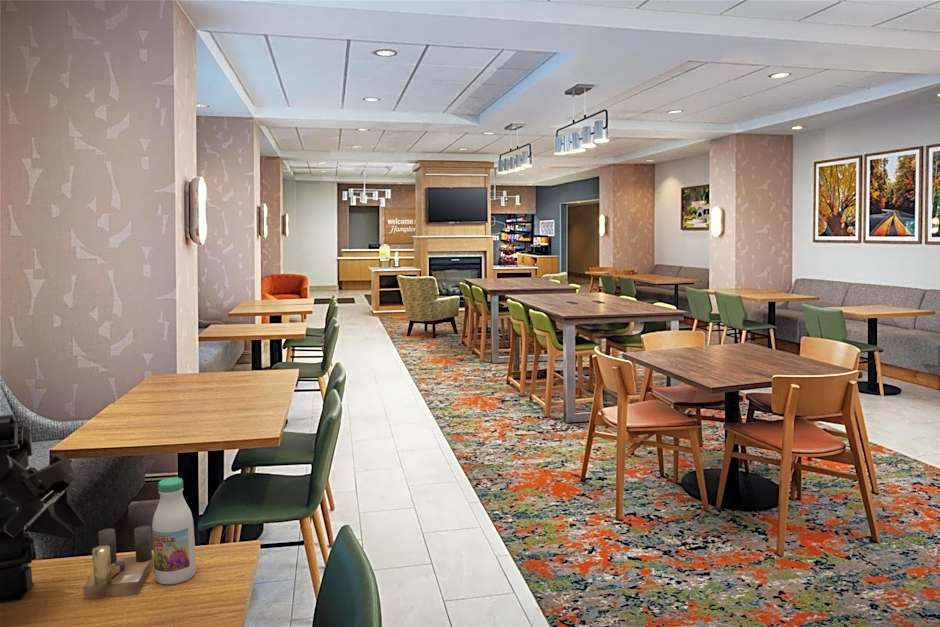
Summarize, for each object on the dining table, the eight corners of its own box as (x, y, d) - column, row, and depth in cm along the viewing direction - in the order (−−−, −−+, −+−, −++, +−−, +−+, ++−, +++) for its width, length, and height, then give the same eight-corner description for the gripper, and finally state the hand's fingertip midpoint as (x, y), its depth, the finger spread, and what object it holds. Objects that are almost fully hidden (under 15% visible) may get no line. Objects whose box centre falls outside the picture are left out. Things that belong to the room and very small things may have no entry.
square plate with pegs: (83, 599, 134) (80, 553, 133) (104, 571, 146) (101, 529, 145) (138, 594, 136) (136, 549, 135) (155, 566, 147) (152, 524, 146)
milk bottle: (167, 567, 147) (162, 473, 145) (203, 568, 146) (198, 474, 144) (147, 584, 139) (141, 486, 137) (184, 586, 139) (179, 487, 137)
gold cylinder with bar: (109, 570, 139) (106, 539, 139) (123, 571, 139) (121, 539, 138) (90, 585, 133) (88, 552, 133) (105, 585, 133) (103, 552, 133)
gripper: (18, 461, 122) (91, 518, 125) (60, 433, 140) (123, 483, 143) (-29, 509, 121) (46, 565, 124) (19, 475, 139) (83, 524, 142)
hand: (78, 531), depth 133 cm, fingers open, 5 cm apart
